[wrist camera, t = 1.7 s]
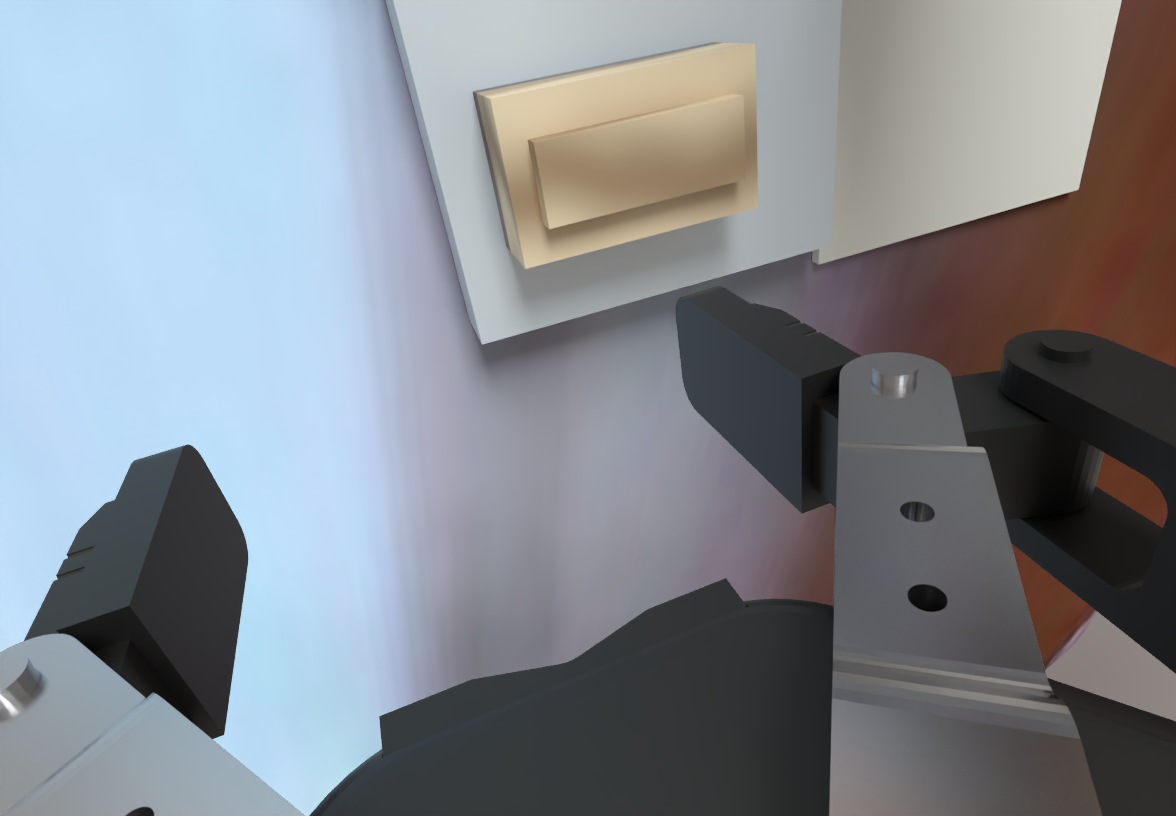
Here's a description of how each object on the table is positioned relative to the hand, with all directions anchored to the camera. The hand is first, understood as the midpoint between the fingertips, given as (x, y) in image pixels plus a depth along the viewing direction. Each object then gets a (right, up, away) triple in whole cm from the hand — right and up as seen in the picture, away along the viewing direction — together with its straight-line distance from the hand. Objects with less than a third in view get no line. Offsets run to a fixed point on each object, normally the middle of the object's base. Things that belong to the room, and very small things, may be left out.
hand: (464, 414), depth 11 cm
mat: (+22, +18, +23) cm, 37 cm away
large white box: (+4, +13, +20) cm, 24 cm away
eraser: (+3, +11, +17) cm, 20 cm away
